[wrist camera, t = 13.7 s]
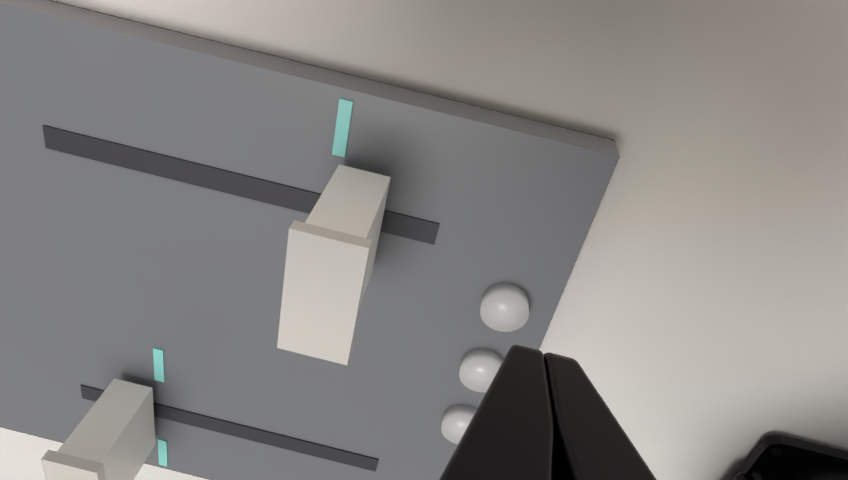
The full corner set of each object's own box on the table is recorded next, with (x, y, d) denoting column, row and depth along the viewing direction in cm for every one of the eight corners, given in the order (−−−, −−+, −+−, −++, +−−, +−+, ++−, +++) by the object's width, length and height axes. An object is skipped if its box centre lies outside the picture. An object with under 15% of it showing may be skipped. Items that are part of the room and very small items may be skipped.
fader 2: (398, 173, 18) (368, 248, 15) (377, 277, 21) (346, 365, 17) (333, 156, 18) (289, 228, 15) (318, 263, 21) (277, 347, 17)
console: (614, 140, 19) (622, 165, 17) (460, 518, 30) (457, 554, 28) (-90, -35, 19) (-144, -25, 17) (14, 406, 30) (-13, 436, 28)
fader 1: (156, 385, 25) (97, 473, 21) (159, 448, 27) (106, 537, 24) (109, 373, 25) (41, 459, 22) (116, 437, 27) (55, 524, 24)
